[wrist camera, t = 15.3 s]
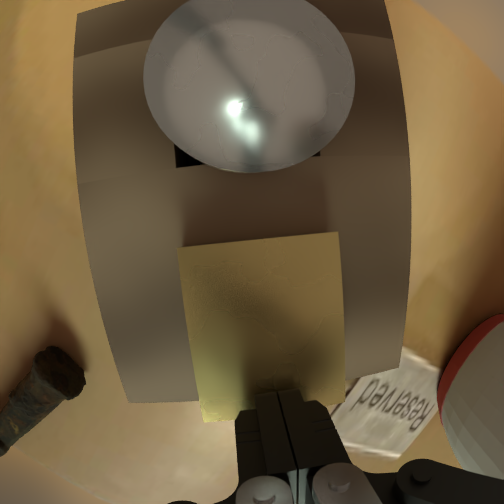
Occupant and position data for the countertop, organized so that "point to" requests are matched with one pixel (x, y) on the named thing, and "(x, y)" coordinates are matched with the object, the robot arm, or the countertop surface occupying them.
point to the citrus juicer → (476, 400)
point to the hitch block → (233, 197)
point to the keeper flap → (264, 320)
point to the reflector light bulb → (249, 82)
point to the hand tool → (39, 394)
